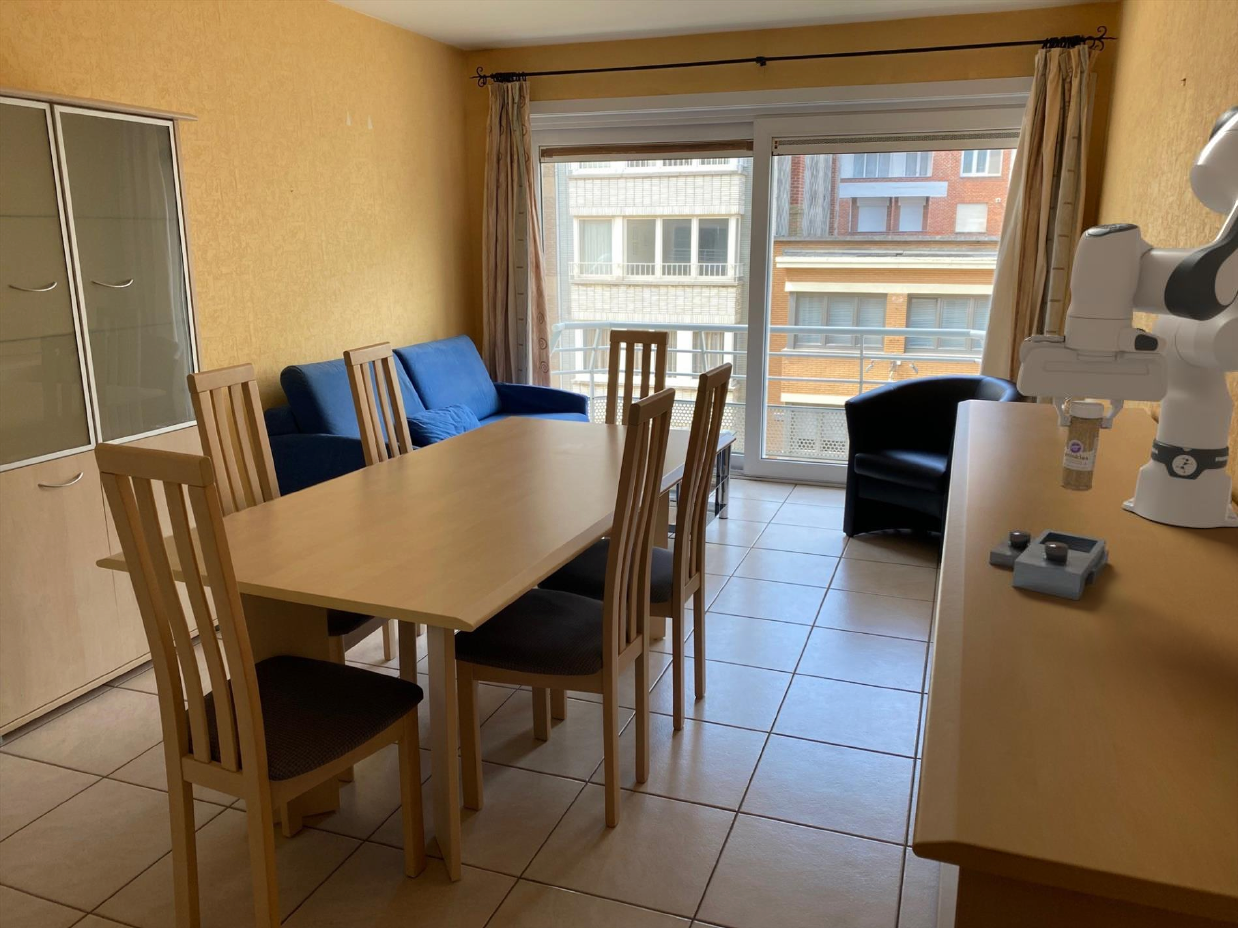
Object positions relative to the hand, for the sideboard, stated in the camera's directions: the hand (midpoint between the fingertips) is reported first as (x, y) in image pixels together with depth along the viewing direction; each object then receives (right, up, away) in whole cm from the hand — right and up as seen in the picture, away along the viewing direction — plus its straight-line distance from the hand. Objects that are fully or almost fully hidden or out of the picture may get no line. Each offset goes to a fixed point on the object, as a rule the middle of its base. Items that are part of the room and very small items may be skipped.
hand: (1084, 427), depth 138 cm
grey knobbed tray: (-2, -21, +7) cm, 23 cm away
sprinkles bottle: (0, -10, +2) cm, 10 cm away
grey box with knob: (-3, -23, +2) cm, 23 cm away
